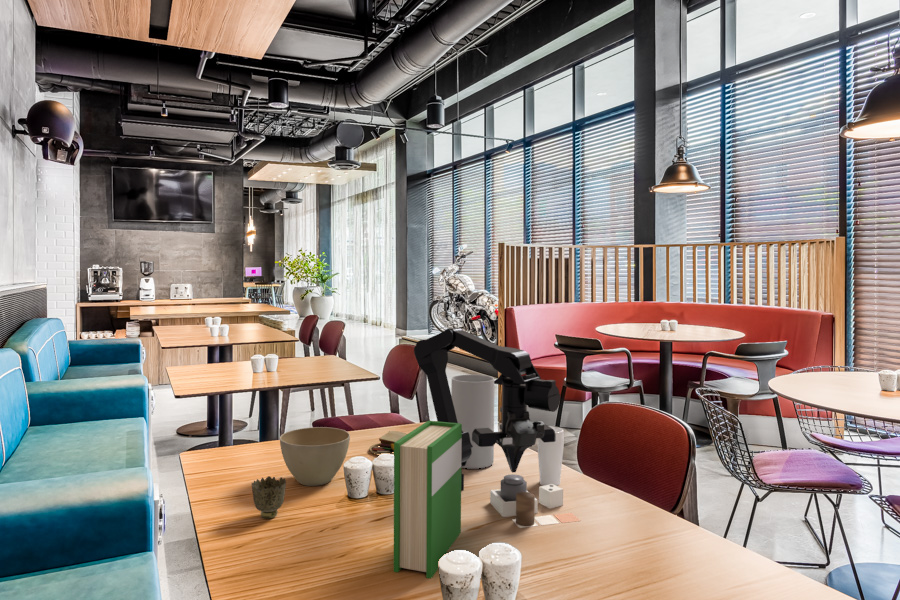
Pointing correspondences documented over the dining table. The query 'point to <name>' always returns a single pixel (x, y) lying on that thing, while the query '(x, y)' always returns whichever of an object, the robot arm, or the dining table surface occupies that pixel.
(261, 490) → the cup
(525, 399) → the robot arm
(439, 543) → the hardback book
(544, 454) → the white tapered vase
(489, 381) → the cylinder vase
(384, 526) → the dining table surface
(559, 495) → the die
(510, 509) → the board
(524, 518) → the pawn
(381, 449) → the toy sandwich meal
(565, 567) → the dining table surface
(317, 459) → the deep taupe bowl
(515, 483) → the popper button
